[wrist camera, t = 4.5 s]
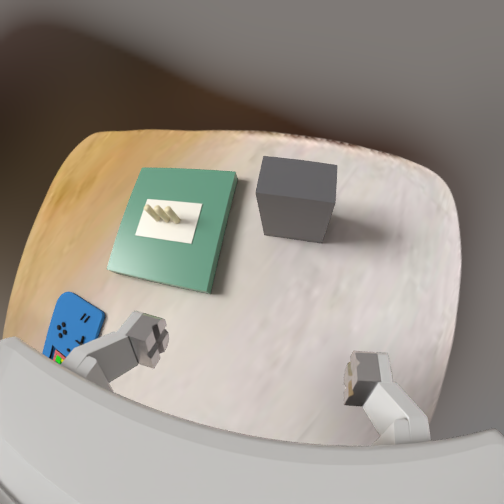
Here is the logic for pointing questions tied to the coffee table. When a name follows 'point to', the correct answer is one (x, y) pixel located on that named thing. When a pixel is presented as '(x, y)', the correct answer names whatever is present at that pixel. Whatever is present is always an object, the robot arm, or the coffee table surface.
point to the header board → (174, 227)
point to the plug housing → (296, 198)
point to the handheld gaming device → (71, 326)
